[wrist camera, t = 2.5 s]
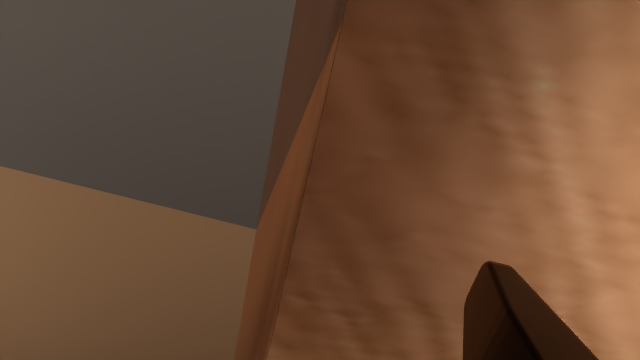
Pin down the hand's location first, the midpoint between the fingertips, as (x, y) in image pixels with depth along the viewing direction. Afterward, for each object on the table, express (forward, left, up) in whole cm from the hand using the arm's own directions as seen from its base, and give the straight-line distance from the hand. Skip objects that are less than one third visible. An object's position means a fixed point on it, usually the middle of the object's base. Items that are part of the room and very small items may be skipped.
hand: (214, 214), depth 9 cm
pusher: (+3, 0, -2) cm, 4 cm away
